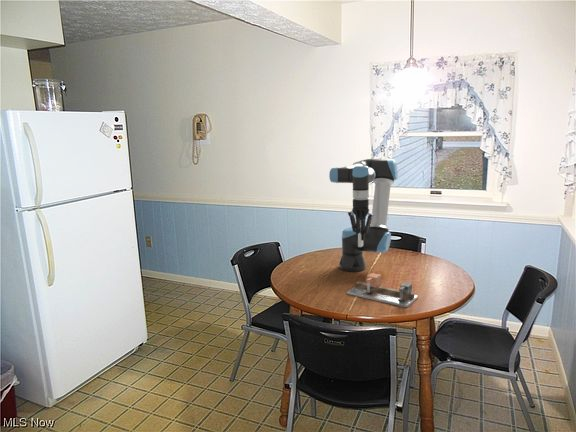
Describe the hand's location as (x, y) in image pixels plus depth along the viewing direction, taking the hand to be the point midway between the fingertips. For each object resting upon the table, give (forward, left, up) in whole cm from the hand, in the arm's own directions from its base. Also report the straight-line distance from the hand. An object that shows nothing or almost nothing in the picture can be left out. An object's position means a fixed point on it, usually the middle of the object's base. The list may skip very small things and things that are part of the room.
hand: (360, 246), depth 207 cm
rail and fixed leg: (+13, -2, -21) cm, 24 cm away
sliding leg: (+7, -2, -20) cm, 22 cm away
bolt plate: (+13, -3, -22) cm, 25 cm away
